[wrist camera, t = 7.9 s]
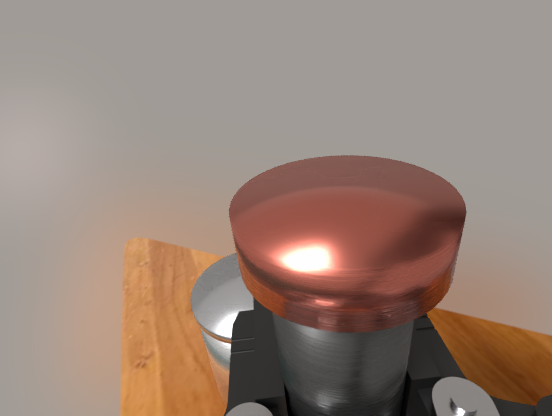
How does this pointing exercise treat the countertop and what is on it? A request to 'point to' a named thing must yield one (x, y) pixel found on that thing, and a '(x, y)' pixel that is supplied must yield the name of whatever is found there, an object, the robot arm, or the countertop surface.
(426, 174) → the lid
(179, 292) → the countertop surface
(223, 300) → the pot
